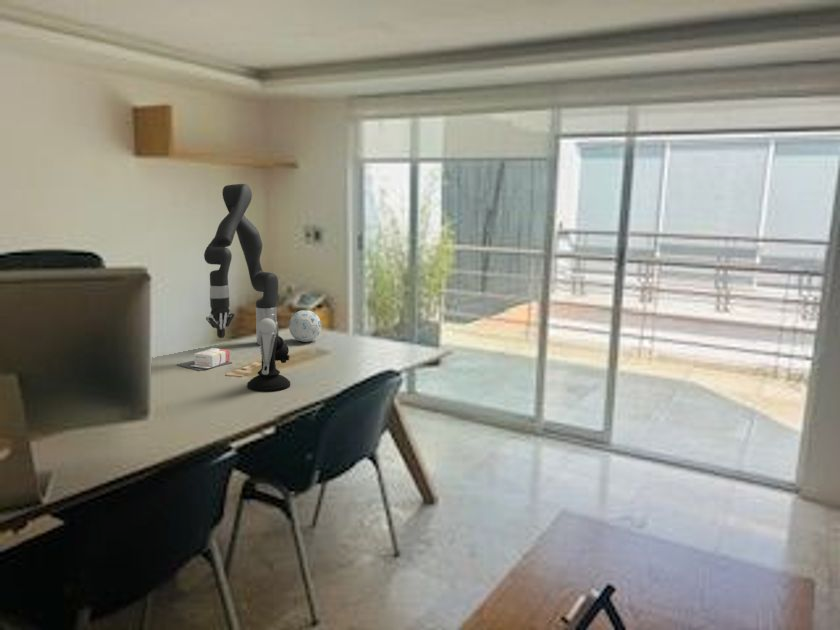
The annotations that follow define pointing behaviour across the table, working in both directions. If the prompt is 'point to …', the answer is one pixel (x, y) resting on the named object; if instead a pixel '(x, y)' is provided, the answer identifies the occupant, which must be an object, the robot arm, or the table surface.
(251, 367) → the beech turner
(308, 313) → the puzzle ball
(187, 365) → the rubber mat
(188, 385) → the table surface
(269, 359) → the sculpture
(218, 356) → the ink cartridge box
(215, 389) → the table surface
